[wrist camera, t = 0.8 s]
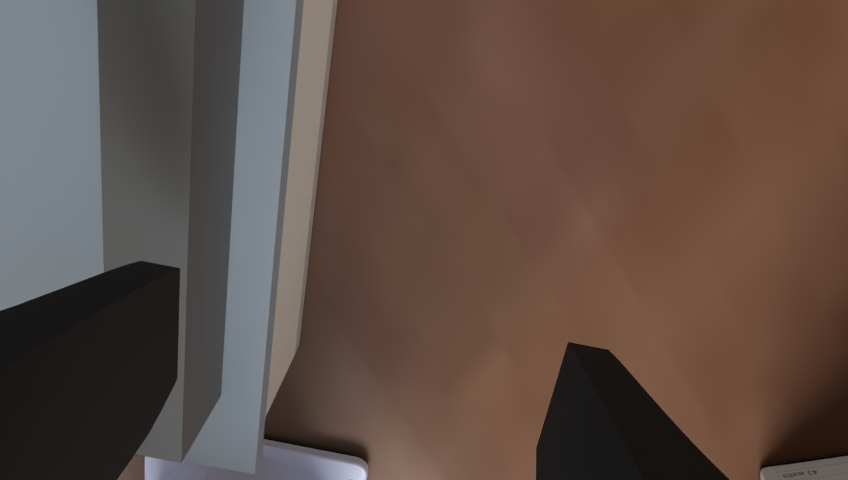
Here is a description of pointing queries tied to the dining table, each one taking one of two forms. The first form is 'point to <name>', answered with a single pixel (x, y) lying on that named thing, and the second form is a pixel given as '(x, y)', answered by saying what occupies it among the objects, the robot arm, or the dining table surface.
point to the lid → (157, 182)
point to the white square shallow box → (301, 183)
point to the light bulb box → (809, 470)
